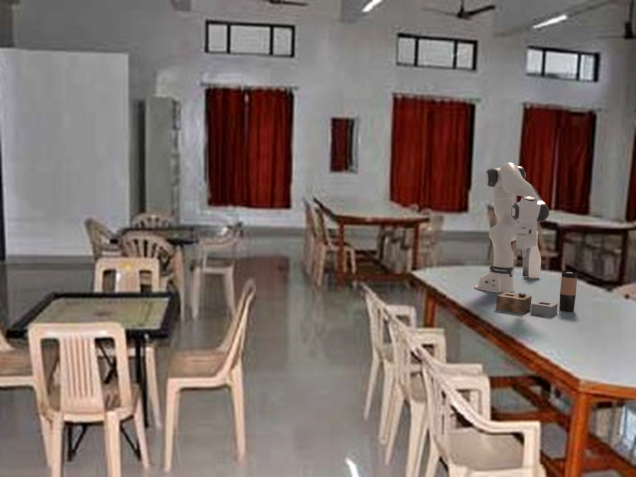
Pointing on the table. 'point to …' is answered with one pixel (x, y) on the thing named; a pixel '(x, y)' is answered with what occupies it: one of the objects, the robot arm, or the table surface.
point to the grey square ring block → (544, 308)
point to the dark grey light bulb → (522, 295)
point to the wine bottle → (534, 262)
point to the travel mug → (568, 291)
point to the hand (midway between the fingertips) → (525, 256)
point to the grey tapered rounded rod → (526, 264)
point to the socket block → (513, 302)
